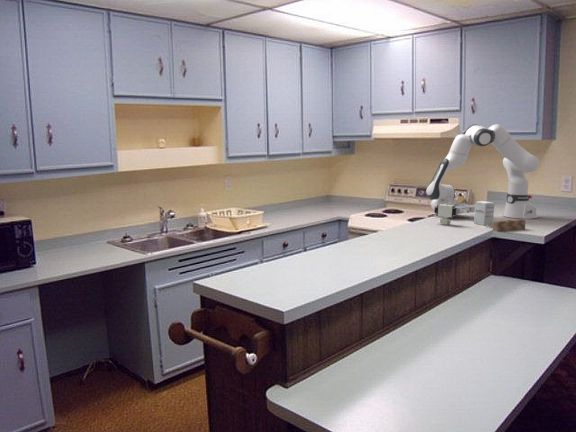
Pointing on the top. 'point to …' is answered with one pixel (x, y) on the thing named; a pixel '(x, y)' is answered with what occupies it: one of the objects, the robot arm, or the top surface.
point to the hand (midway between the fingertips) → (468, 211)
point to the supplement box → (484, 213)
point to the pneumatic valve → (445, 212)
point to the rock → (462, 200)
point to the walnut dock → (507, 225)
